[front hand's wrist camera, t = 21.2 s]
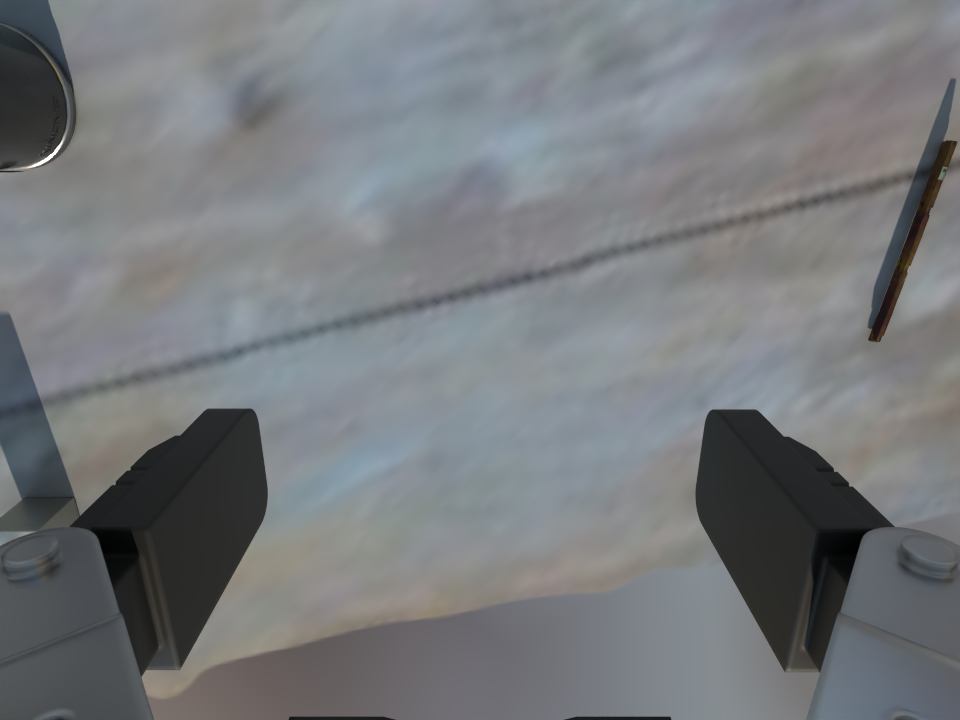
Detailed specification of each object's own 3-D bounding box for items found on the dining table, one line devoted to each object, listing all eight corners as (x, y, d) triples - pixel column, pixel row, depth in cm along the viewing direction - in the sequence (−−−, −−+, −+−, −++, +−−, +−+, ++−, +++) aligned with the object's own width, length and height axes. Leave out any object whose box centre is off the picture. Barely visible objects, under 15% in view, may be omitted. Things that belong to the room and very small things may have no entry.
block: (87, 543, 56) (52, 580, 51) (38, 544, 56) (-1, 580, 51) (74, 497, 54) (37, 530, 50) (24, 497, 54) (-18, 531, 50)
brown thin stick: (873, 340, 49) (880, 344, 48) (867, 340, 49) (875, 344, 48) (948, 141, 44) (958, 141, 43) (942, 140, 44) (952, 140, 43)
